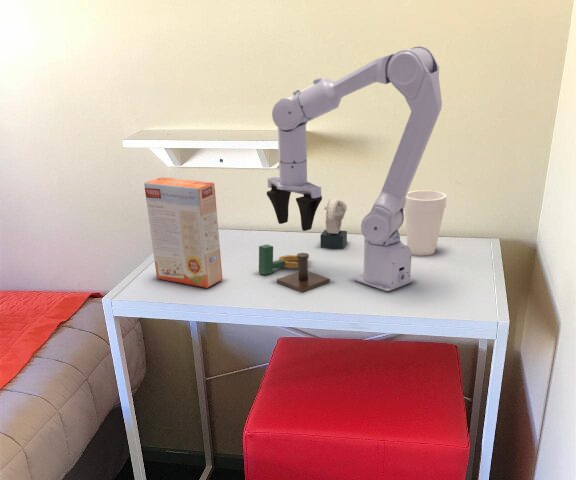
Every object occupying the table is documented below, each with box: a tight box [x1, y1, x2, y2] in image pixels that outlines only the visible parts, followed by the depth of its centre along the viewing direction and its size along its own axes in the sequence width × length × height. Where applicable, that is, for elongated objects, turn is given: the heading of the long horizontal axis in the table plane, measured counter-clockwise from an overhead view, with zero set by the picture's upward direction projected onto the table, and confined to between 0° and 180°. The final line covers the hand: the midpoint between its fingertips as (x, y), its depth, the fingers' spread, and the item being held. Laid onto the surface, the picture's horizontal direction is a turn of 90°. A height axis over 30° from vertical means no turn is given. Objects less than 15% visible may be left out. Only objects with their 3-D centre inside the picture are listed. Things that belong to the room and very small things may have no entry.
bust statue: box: [320, 198, 348, 250], centre depth 158 cm, size 6×8×11 cm
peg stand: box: [276, 252, 331, 293], centre depth 139 cm, size 8×8×6 cm
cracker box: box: [143, 176, 223, 289], centre depth 139 cm, size 14×6×21 cm, turn 59°
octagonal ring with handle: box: [258, 244, 298, 276], centre depth 147 cm, size 12×6×6 cm, turn 132°
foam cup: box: [404, 189, 447, 256], centre depth 152 cm, size 10×9×13 cm
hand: (294, 226), depth 142 cm, fingers open, 7 cm apart
